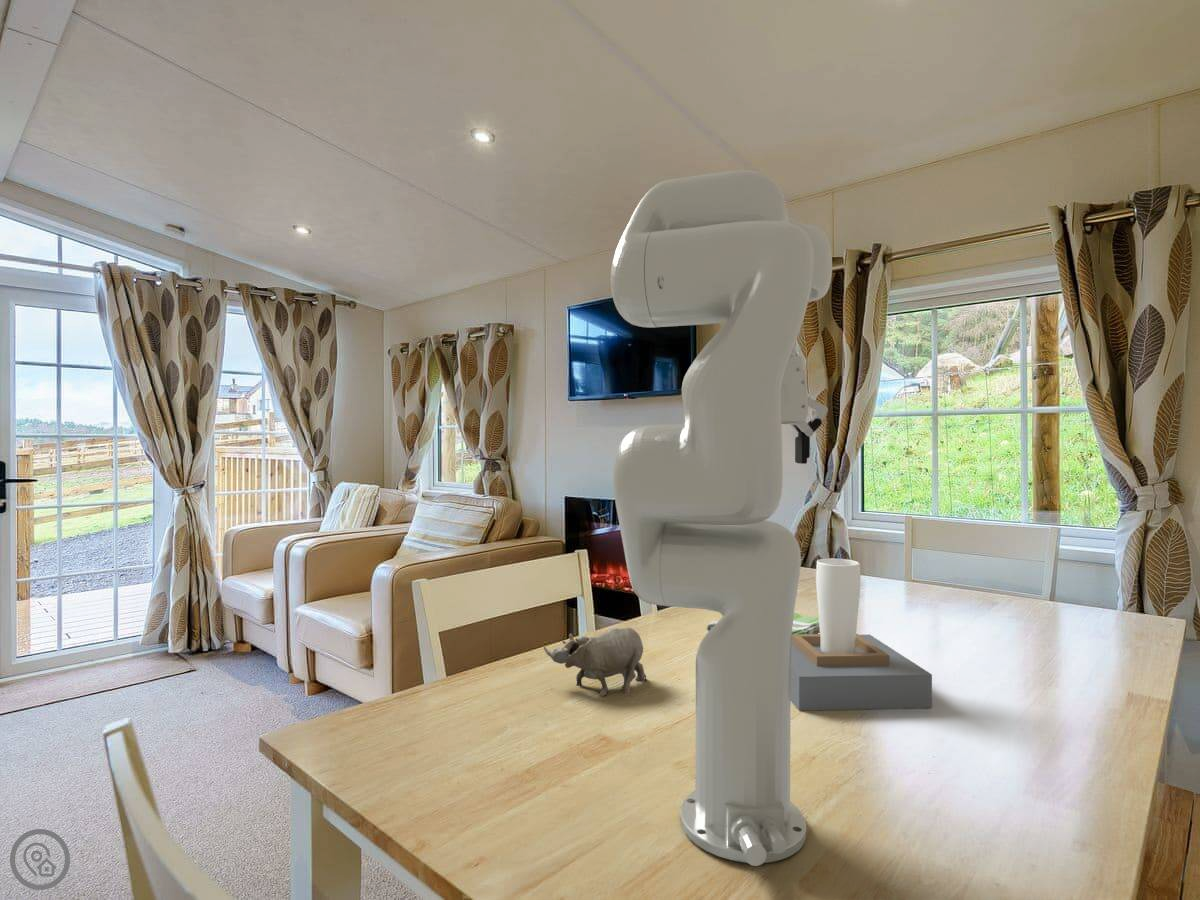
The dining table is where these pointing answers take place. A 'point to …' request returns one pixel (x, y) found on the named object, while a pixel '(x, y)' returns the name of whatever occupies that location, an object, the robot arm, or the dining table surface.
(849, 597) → the white tapered cylinder
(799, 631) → the dish towel
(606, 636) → the rhinoceros figurine
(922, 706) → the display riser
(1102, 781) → the dining table surface
